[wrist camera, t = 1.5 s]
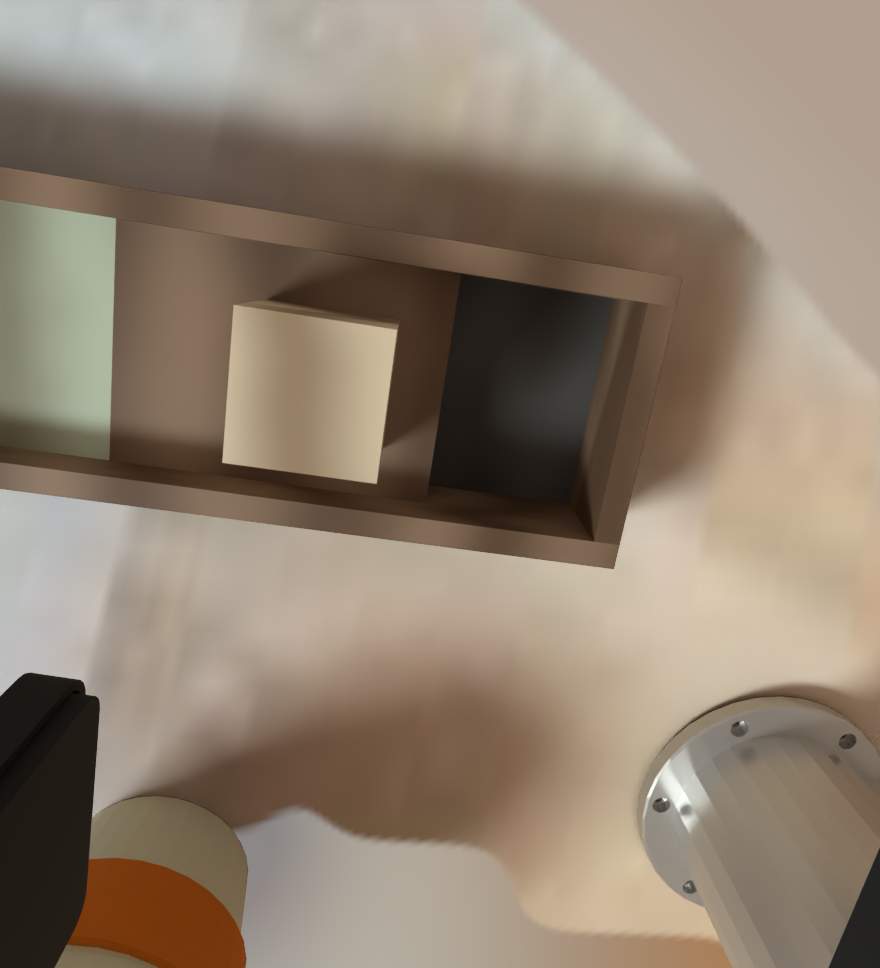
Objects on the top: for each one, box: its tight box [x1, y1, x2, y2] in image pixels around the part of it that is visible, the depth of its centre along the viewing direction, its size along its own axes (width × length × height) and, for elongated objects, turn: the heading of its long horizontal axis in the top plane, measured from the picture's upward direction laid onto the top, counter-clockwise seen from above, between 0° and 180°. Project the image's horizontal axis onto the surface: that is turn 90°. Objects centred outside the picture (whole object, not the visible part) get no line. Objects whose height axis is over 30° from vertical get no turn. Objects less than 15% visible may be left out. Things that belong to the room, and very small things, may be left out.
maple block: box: [222, 300, 400, 484], centre depth 25 cm, size 5×5×5 cm
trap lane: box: [0, 167, 682, 569], centre depth 27 cm, size 36×11×5 cm, turn 81°
